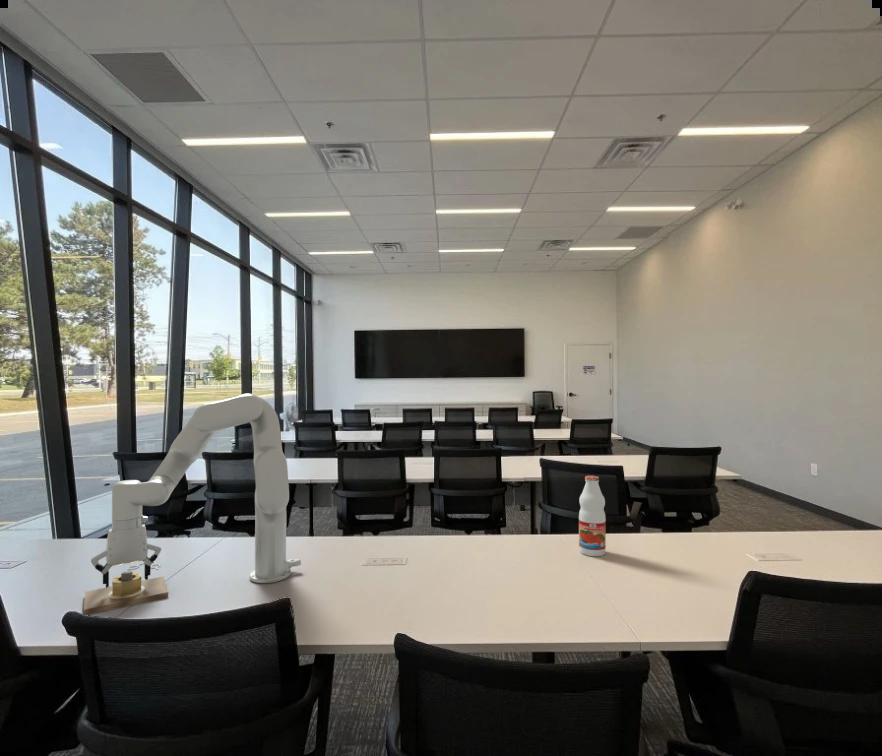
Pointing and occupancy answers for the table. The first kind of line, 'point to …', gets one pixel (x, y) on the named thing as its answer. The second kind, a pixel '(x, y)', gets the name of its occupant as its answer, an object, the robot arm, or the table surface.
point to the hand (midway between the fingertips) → (127, 582)
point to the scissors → (144, 563)
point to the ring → (126, 586)
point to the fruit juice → (592, 519)
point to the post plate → (106, 601)
